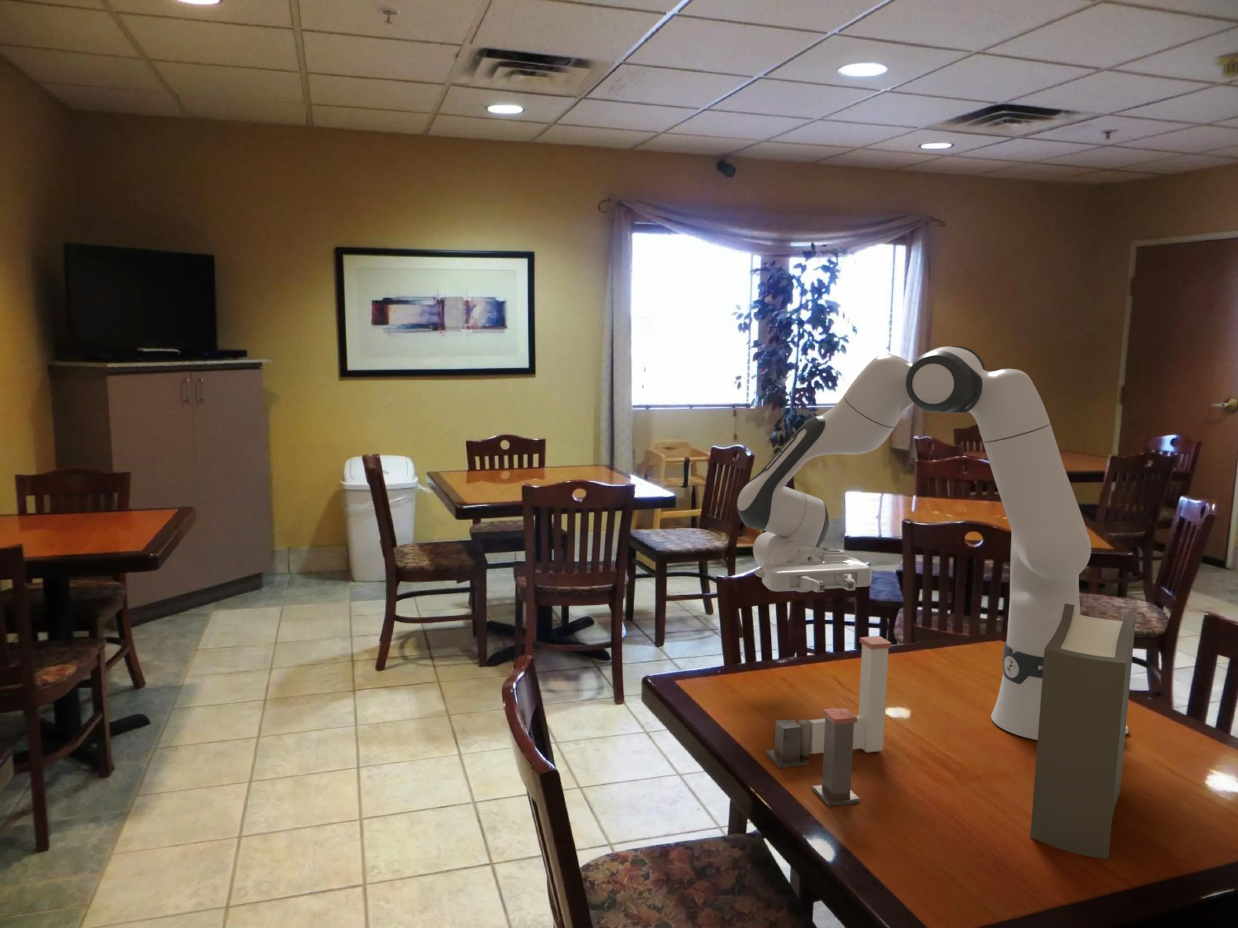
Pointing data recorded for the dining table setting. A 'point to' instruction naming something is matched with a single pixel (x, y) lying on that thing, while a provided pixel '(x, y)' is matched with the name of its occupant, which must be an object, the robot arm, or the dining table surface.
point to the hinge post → (787, 745)
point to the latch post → (837, 758)
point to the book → (1082, 732)
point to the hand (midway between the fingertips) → (836, 586)
